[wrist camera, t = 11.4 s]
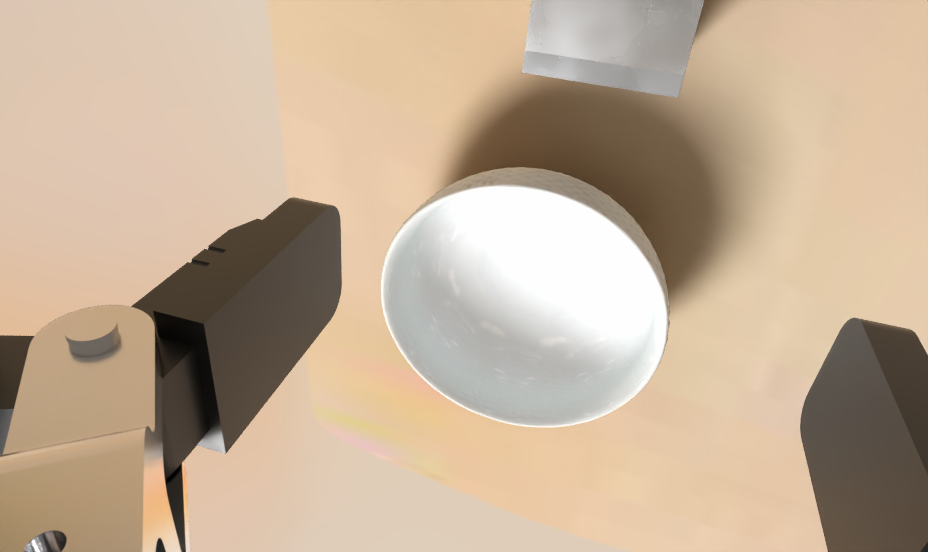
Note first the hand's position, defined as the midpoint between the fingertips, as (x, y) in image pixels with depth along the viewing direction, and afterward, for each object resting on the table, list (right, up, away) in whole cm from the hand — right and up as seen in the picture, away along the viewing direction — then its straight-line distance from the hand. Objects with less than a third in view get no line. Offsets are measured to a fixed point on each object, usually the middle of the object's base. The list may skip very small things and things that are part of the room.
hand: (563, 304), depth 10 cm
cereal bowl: (+3, +2, +33) cm, 33 cm away
